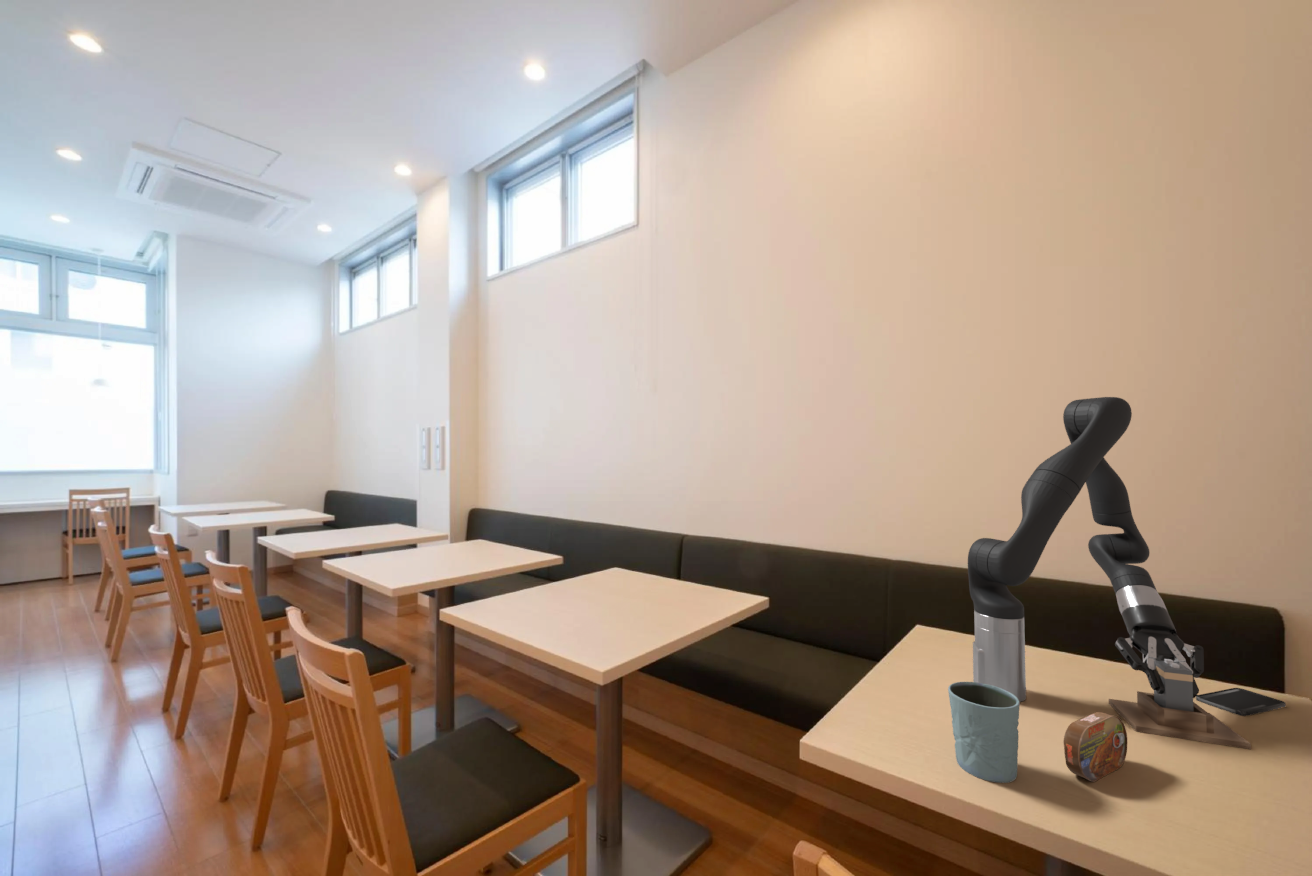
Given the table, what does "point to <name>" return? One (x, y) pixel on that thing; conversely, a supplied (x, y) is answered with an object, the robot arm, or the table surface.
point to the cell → (1175, 686)
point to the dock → (1176, 722)
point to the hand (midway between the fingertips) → (1177, 693)
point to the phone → (1240, 701)
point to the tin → (1095, 745)
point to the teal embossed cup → (985, 730)
